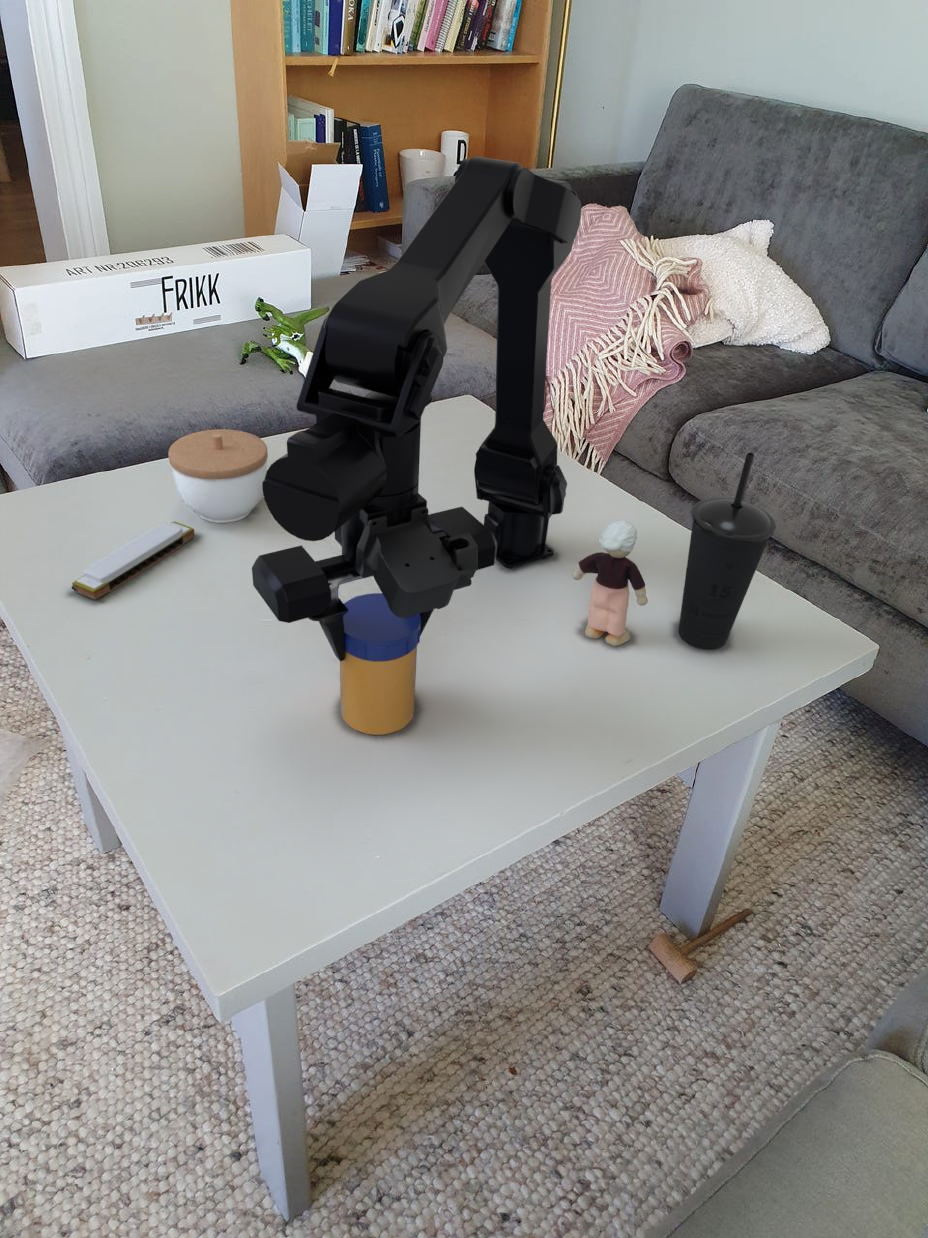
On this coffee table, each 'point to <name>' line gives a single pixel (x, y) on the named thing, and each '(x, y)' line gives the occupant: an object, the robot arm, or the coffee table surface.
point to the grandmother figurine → (612, 583)
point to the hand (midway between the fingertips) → (377, 646)
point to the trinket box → (219, 473)
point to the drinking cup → (721, 564)
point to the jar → (378, 693)
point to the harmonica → (132, 559)
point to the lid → (378, 629)
